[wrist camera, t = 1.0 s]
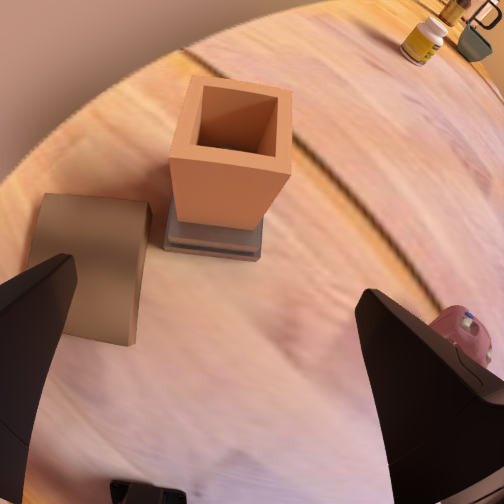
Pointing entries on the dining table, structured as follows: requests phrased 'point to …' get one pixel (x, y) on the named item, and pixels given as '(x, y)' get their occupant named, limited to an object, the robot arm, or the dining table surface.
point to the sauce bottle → (454, 11)
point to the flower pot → (473, 45)
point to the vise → (212, 236)
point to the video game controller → (464, 333)
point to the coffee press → (481, 13)
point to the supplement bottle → (423, 41)
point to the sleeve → (230, 151)
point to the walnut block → (97, 260)
